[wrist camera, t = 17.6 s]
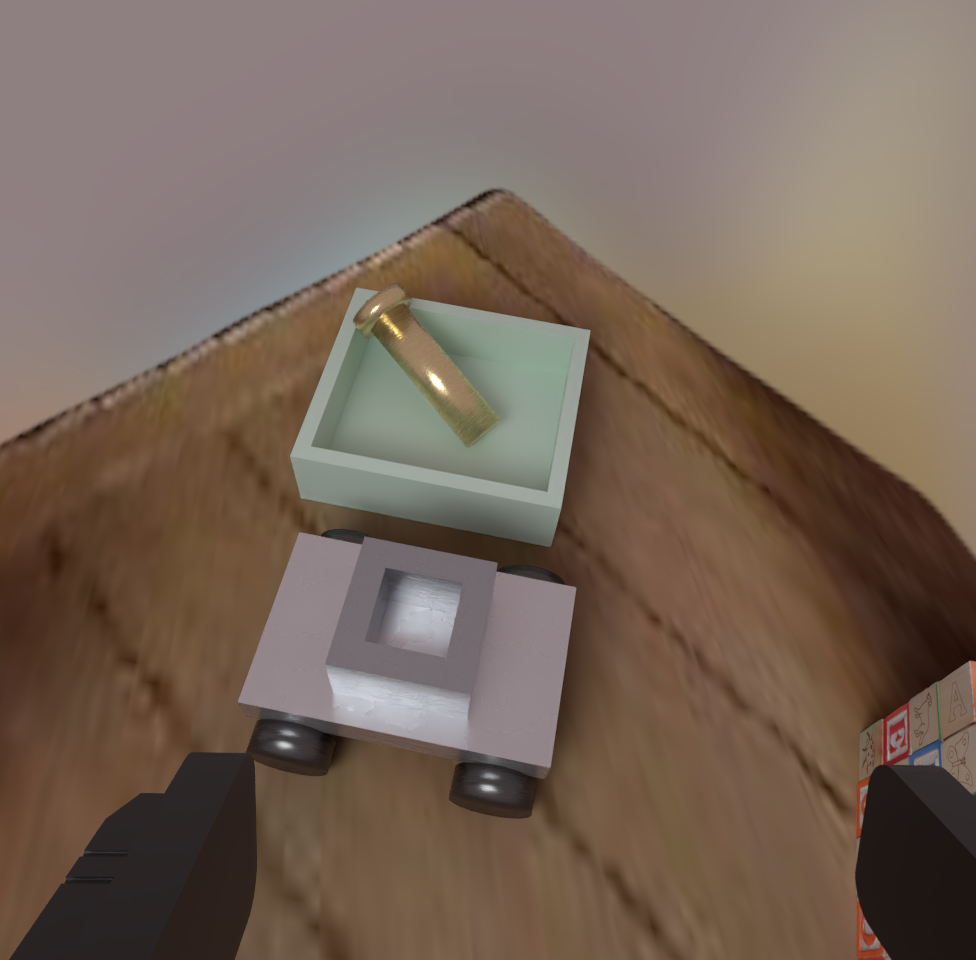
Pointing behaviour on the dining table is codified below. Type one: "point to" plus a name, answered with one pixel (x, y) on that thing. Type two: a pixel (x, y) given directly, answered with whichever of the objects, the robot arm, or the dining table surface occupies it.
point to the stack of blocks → (920, 753)
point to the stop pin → (425, 363)
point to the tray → (427, 437)
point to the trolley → (413, 664)
